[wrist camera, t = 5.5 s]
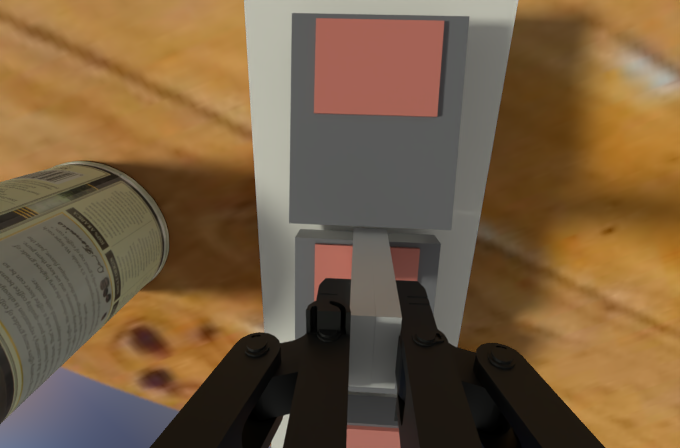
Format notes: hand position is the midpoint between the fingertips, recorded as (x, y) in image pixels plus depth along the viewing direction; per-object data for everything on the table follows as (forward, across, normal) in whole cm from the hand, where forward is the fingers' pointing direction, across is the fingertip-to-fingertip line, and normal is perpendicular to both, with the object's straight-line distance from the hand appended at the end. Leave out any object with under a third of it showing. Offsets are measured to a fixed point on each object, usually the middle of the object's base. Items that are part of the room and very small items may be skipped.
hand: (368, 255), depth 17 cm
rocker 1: (+2, 0, +6) cm, 6 cm away
